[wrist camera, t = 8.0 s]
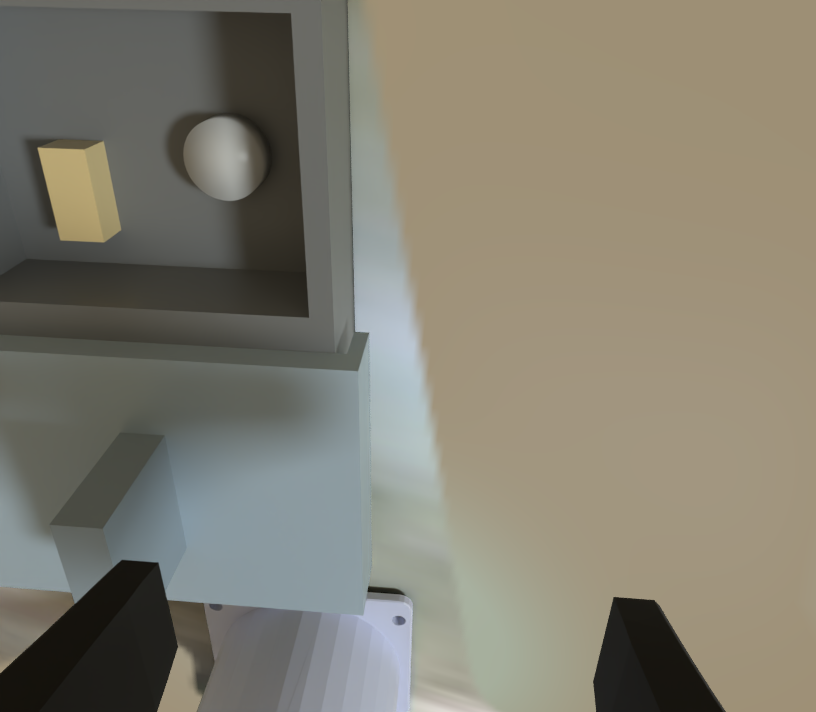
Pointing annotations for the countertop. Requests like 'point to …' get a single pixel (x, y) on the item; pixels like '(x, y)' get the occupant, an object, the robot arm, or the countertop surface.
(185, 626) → the countertop surface
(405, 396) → the countertop surface
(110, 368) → the lid segment
